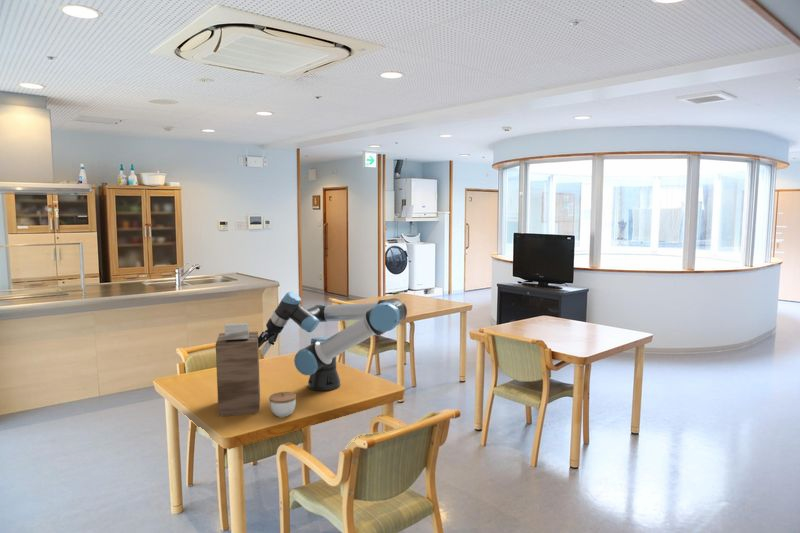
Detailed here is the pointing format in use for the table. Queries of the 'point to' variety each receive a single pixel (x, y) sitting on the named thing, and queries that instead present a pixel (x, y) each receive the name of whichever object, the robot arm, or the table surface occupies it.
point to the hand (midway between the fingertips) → (254, 357)
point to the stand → (238, 375)
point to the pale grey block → (236, 331)
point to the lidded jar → (282, 403)
